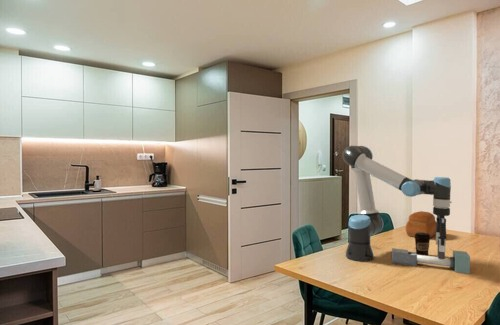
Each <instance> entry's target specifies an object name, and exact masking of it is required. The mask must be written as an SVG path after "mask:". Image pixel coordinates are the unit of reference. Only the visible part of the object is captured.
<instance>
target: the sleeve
mask: <svg viewBox="0 0 500 325" xmlns="http://www.w3.org/2000/svg"><path fill="white" fill-rule="evenodd" d="M411 254H415V255H411ZM391 264H393V265H400V266H401V265H402V266H408V267H409V266H410V267H418V263H417V255H416V251H409V250H408V249H402V248H391Z"/></svg>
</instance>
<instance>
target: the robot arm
mask: <svg viewBox="0 0 500 325" xmlns="http://www.w3.org/2000/svg"><path fill="white" fill-rule="evenodd" d="M373 158H374V157H373V152H372V150H371V148H369V147H367V146H364V145H349V146H347V147H345V148H344V150H343V151H342V160H343V161H344V163H345V164H346V165H348V166H350V167H351V170H352V171H353V172H354V178H355V183H356V188H357V189H356V190H357V196H358V203H359V204H358V205H359V209H360V210H359V211H358V214H357V215H356V214H355V215H351V216H350V217H349V219H348V244H347V247H346V250H345V258H347V259H348V260H352V261H355V262H370V261H373V260H374V258H375V257H374V256H375V255H374V252H373V249H372V246H371V236H375V235H377V234H379V233H380V232H381V231H383V229H384V220H383V218H382V217H381V216H380V214H379V212H380V211H379V210H377V209H376V205H375V198H374V192H373V187H372V186H373V185H372V179H371V176H372V177H375V178H376V179H378V180H380V181H382V182H384V183H386V184H388V185H390V186H392V187H393V188H395V189H397V190H399V191H401V193H402V194H404V195H405V196H406V197H416V196H420V195H430V196H432V197H433V200H432V206H433V207H432V214H433V215H434V216H436V217H435V221H436V234H435V245H437V246H438V239H439V252H445V253H446V241H447V219H446V217H447V216H450V214H451V208H450V207H451V204H452V200H451V188H452V186H451V185H452V184H451V179H450V177H447V176H434V177H433V180H428V179H426V180H425V179H411V178H409V177H408V176H406V175H403V174H401V173H399V172H398V171H395V170H393V169H391V168H390V167H387V166H386V165H384V164H381V163H379V162H378V161H376V160H373Z"/></svg>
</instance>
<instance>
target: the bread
mask: <svg viewBox="0 0 500 325" xmlns="http://www.w3.org/2000/svg"><path fill="white" fill-rule="evenodd" d="M436 222H437V220H436V215H435V214H433V213H432V212H428V211H423V210H421V211H420V210H419V211H416V212H412V214H410V215H409V216H408V221H407V222H406V225H405V232H406V235H407V236H409V237H412V238H415V234H416V233H418V232H423V233H428V234H429V235H430V236H431V237H430V238H432V237H433V236H436Z"/></svg>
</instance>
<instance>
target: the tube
mask: <svg viewBox="0 0 500 325" xmlns="http://www.w3.org/2000/svg"><path fill="white" fill-rule="evenodd" d="M411 255H415V254H411ZM418 263H419V264H427V265H435V266H445V267H449V268H450V269H454V267H455V259H454V257H453V256H449V257H446V251H445V252H439V239H438V245H437V256H433V255H432V256H431V255H429V256H424V255H417V264H418Z"/></svg>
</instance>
